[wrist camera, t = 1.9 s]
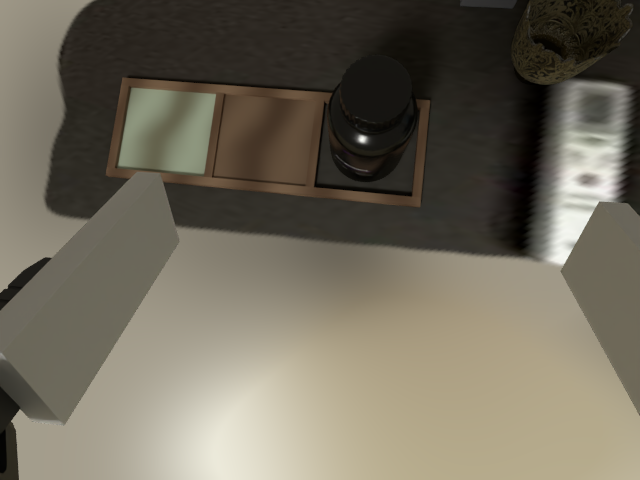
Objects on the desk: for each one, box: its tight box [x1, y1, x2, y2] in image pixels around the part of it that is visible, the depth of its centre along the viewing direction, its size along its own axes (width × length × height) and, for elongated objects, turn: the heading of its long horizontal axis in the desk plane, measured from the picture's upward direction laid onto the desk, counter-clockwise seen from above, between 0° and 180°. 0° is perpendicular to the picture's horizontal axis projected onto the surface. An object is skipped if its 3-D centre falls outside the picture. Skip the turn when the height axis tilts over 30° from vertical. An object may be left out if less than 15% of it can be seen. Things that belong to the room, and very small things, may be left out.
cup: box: [511, 0, 634, 85], centre depth 32 cm, size 8×7×8 cm
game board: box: [106, 78, 430, 207], centre depth 37 cm, size 31×10×1 cm, turn 83°
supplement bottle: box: [327, 54, 418, 182], centre depth 31 cm, size 7×7×12 cm
